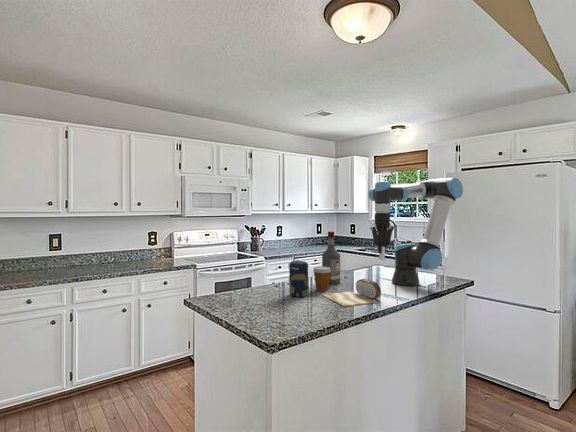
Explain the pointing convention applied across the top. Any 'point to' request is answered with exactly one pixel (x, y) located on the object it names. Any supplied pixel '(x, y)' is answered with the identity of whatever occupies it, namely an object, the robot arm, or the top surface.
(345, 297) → the oak board
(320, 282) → the disposable coffee cup
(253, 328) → the top surface
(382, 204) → the robot arm
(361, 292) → the tin
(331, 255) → the liquor
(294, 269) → the canister
